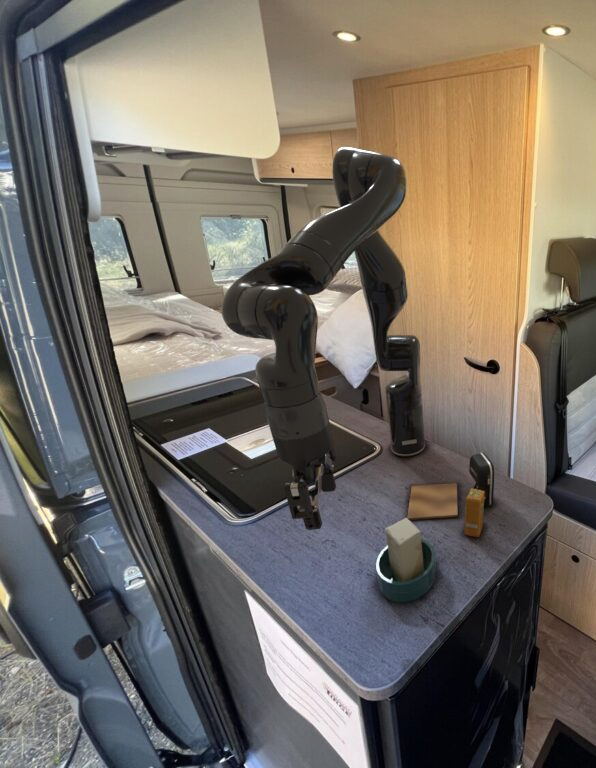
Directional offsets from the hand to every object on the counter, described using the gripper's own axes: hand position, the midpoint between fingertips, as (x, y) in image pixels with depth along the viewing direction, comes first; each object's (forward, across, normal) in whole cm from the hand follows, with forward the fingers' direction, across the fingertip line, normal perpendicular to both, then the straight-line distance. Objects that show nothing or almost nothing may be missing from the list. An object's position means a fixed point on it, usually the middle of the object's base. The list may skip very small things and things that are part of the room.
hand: (322, 507), depth 63 cm
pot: (+18, -1, -12) cm, 22 cm away
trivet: (+19, +19, -16) cm, 31 cm away
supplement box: (+19, +9, -25) cm, 33 cm away
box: (+18, -1, -12) cm, 21 cm away
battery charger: (+19, +19, -27) cm, 38 cm away
